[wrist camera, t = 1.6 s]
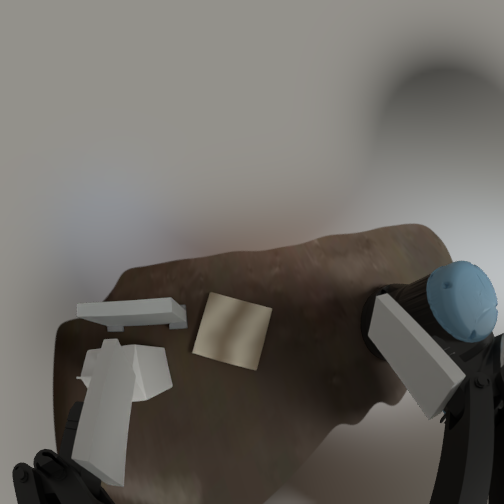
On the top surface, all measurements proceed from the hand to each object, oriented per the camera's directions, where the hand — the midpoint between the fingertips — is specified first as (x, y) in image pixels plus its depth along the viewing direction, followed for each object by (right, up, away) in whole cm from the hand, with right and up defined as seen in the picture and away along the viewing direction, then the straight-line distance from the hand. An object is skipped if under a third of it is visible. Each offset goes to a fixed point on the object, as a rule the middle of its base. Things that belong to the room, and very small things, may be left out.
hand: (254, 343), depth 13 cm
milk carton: (-18, -16, +29) cm, 38 cm away
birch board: (-3, -9, +33) cm, 34 cm away
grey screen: (-19, -8, +32) cm, 38 cm away
